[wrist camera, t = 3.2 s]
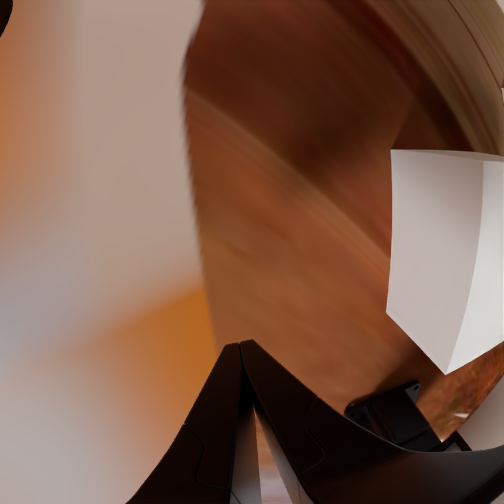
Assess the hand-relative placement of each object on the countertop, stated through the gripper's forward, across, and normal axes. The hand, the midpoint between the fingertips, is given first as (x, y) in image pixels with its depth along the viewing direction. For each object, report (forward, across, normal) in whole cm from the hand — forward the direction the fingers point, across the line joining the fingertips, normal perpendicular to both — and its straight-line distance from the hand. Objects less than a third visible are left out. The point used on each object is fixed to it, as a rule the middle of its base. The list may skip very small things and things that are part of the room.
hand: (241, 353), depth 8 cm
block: (+6, -12, 0) cm, 13 cm away
